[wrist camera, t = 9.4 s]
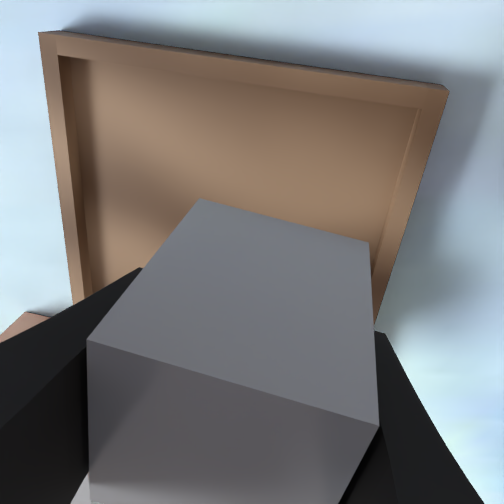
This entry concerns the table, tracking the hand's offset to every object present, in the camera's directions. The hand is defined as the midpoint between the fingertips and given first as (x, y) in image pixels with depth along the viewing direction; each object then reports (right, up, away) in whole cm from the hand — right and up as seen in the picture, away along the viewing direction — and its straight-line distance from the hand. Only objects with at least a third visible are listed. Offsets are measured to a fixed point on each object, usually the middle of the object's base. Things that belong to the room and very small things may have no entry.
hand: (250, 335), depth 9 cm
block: (0, +1, +2) cm, 2 cm away
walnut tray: (-1, +3, +8) cm, 9 cm away
